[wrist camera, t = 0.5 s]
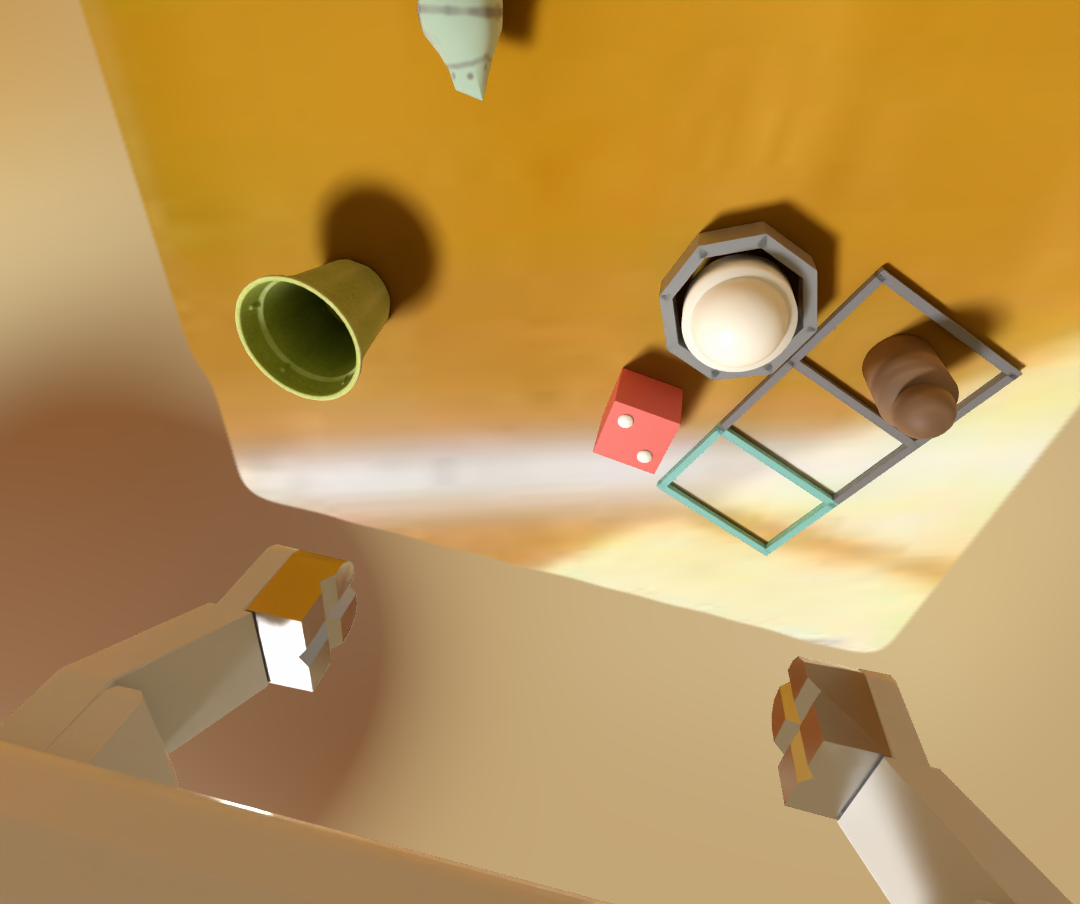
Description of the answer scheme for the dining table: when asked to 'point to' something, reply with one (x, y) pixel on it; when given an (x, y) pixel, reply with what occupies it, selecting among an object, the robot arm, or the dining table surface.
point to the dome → (739, 313)
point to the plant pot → (313, 326)
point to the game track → (796, 361)
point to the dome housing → (731, 243)
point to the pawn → (911, 386)
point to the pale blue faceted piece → (463, 38)
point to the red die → (639, 421)
